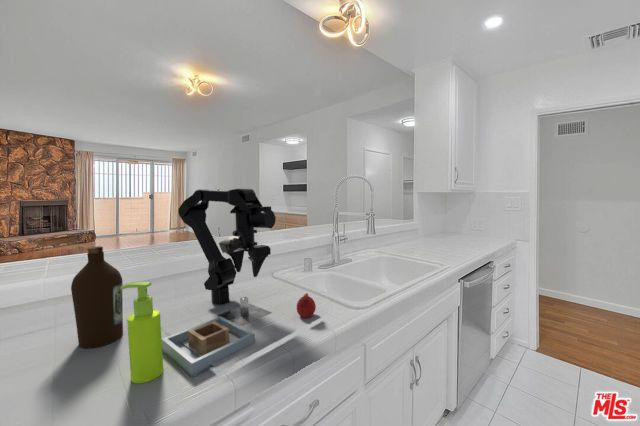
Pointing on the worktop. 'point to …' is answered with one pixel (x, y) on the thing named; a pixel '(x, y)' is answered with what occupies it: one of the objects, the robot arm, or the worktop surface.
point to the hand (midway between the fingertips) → (246, 274)
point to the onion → (306, 306)
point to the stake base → (246, 318)
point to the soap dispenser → (144, 336)
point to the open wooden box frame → (208, 337)
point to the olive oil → (97, 301)
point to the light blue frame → (200, 364)
